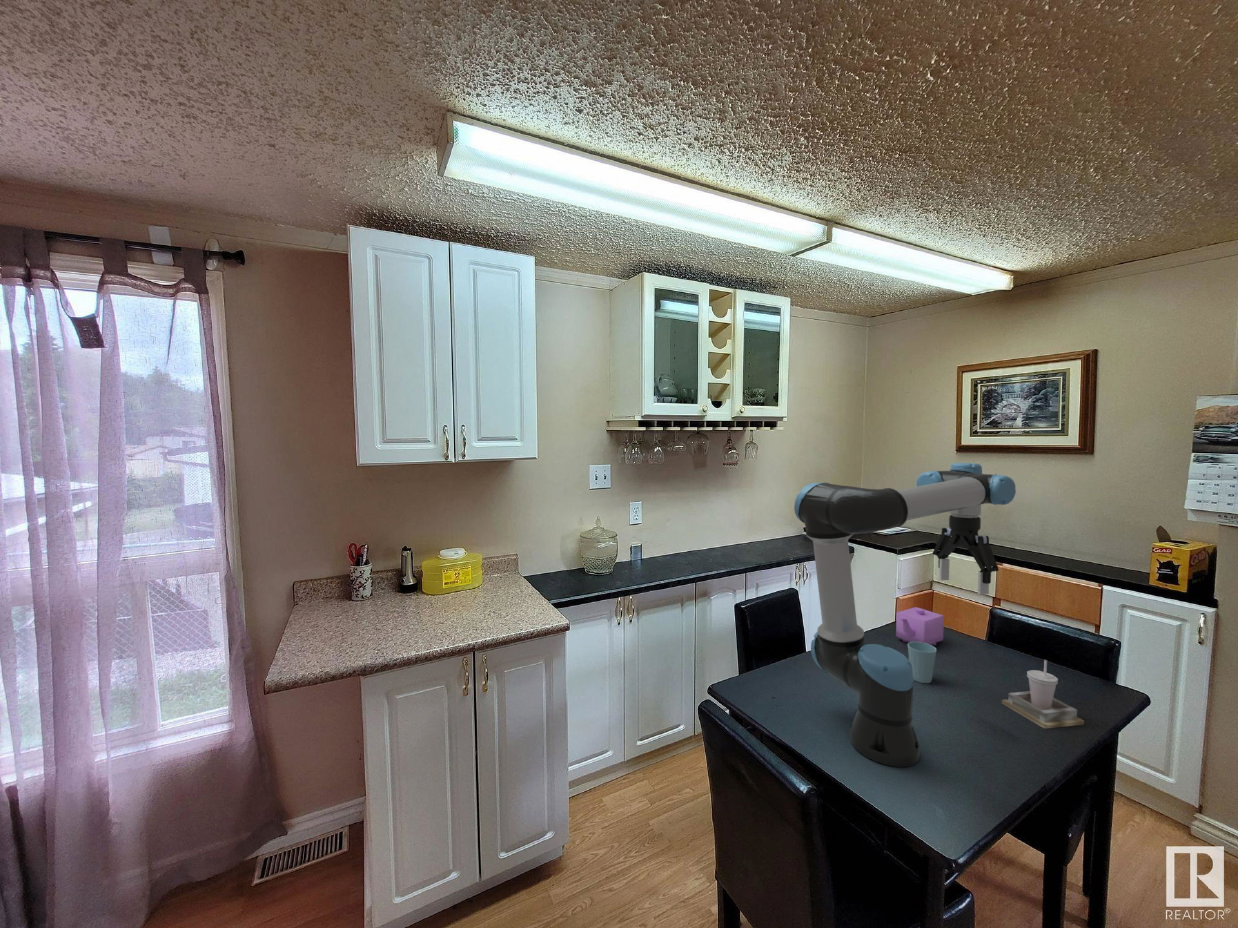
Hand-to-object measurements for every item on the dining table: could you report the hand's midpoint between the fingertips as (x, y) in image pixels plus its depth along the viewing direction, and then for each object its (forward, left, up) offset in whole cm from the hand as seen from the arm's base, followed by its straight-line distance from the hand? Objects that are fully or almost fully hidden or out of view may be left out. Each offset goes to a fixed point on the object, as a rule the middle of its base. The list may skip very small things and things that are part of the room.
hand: (962, 586), depth 142 cm
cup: (-6, +8, -32) cm, 33 cm away
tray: (+12, -14, -32) cm, 37 cm away
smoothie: (+12, -14, -31) cm, 36 cm away
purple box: (+12, +32, -32) cm, 47 cm away
